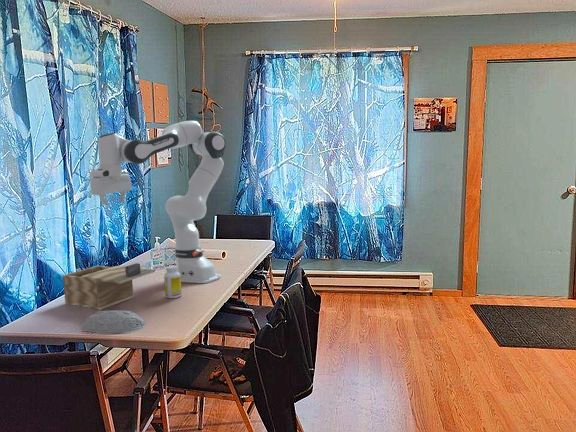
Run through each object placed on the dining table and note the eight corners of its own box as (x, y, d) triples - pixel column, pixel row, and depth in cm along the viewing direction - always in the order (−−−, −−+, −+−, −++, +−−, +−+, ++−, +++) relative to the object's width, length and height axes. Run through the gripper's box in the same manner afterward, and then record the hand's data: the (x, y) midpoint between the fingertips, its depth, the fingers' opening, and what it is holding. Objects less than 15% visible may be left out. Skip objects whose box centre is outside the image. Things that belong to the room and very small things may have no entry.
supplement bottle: (184, 294, 227) (182, 265, 225) (176, 299, 221) (174, 269, 219) (170, 293, 229) (169, 264, 228) (162, 298, 223) (160, 268, 221)
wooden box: (133, 297, 225) (131, 269, 224) (100, 310, 210) (97, 280, 208) (99, 292, 235) (97, 265, 233) (65, 303, 219) (62, 275, 217)
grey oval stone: (137, 334, 181) (135, 314, 181) (70, 335, 186) (68, 316, 186) (156, 323, 197) (155, 305, 196) (94, 324, 201) (92, 306, 201)
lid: (154, 272, 218) (154, 260, 217) (120, 283, 202) (119, 271, 201) (117, 267, 228) (116, 256, 227) (81, 278, 212) (80, 266, 211)
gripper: (123, 169, 240) (125, 200, 242) (86, 173, 222) (89, 206, 224) (133, 169, 237) (136, 200, 239) (97, 173, 219) (100, 206, 221)
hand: (113, 203), depth 231 cm, fingers open, 8 cm apart
